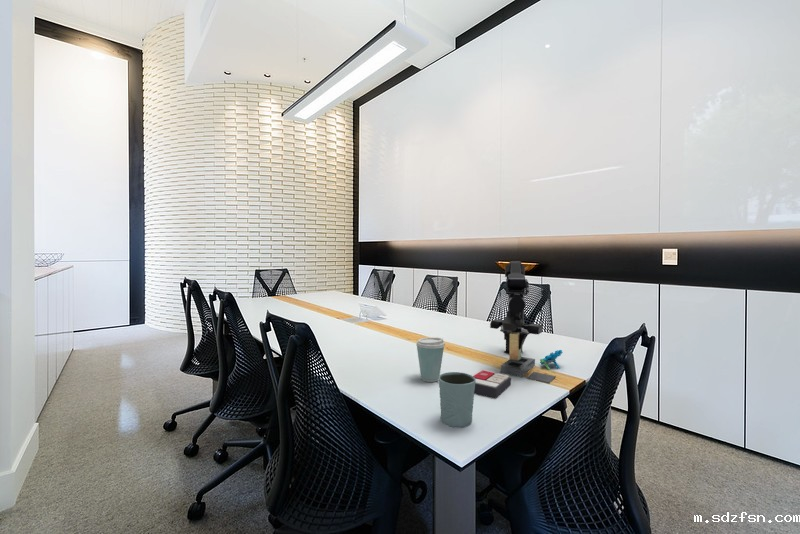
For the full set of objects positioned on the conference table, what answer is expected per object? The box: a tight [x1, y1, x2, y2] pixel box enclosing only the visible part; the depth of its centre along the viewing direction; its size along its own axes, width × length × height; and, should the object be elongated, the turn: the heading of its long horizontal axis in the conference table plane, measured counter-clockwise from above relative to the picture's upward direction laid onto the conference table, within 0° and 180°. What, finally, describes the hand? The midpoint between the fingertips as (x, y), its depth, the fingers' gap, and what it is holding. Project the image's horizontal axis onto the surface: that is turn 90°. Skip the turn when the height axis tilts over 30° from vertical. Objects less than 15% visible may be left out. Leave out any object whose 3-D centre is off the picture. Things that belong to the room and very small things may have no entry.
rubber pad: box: [526, 371, 557, 384], centre depth 132 cm, size 8×8×1 cm
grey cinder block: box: [500, 356, 536, 378], centre depth 141 cm, size 8×16×3 cm, turn 142°
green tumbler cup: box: [438, 371, 476, 429], centre depth 99 cm, size 10×10×12 cm
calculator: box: [472, 370, 512, 400], centre depth 122 cm, size 11×4×15 cm
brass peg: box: [508, 332, 522, 361], centre depth 138 cm, size 3×3×10 cm
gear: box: [539, 349, 563, 371], centre depth 143 cm, size 11×6×10 cm
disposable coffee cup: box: [416, 336, 446, 383], centre depth 130 cm, size 11×11×15 cm
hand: (515, 348), depth 138 cm, fingers closed on brass peg, 3 cm apart
